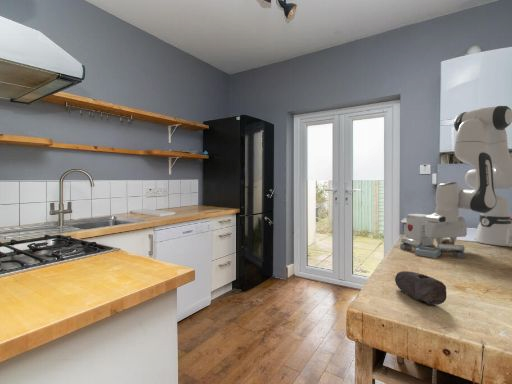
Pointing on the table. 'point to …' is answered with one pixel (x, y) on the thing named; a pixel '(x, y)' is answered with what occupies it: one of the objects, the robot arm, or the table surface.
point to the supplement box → (417, 229)
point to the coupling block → (447, 241)
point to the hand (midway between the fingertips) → (445, 247)
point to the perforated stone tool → (421, 287)
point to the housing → (427, 252)
